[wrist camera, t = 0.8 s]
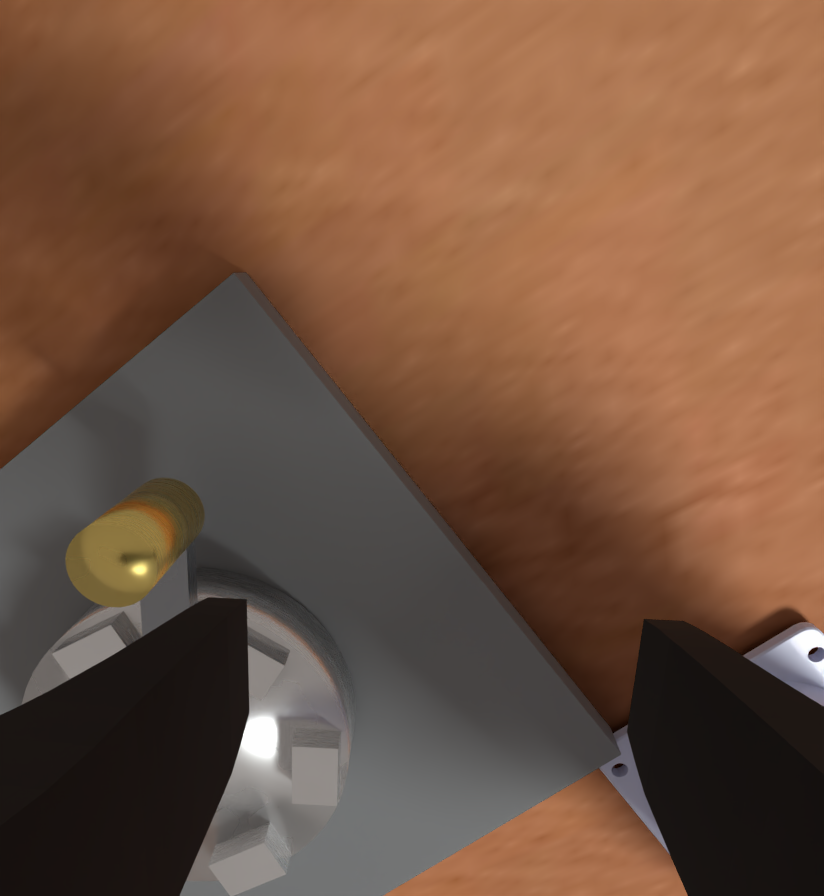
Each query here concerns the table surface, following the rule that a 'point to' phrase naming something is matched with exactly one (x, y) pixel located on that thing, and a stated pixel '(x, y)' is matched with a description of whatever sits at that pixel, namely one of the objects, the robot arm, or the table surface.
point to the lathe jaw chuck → (269, 666)
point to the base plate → (310, 585)
